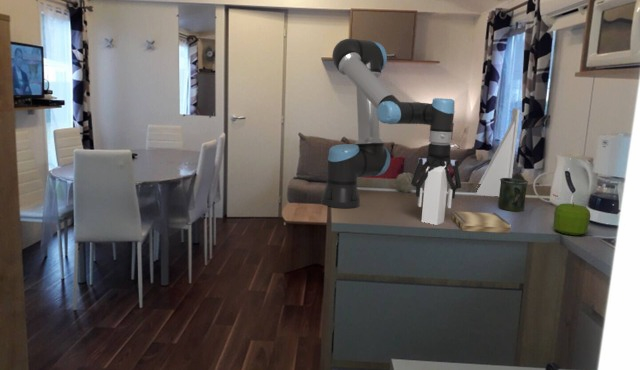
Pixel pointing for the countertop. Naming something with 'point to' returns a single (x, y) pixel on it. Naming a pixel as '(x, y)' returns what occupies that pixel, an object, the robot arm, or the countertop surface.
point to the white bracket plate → (501, 161)
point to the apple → (571, 219)
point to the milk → (435, 196)
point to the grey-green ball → (404, 182)
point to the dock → (480, 222)
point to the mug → (512, 194)
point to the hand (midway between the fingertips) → (434, 206)
